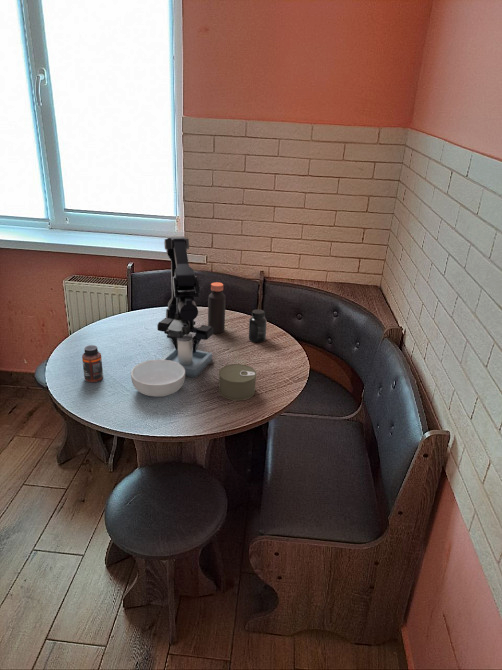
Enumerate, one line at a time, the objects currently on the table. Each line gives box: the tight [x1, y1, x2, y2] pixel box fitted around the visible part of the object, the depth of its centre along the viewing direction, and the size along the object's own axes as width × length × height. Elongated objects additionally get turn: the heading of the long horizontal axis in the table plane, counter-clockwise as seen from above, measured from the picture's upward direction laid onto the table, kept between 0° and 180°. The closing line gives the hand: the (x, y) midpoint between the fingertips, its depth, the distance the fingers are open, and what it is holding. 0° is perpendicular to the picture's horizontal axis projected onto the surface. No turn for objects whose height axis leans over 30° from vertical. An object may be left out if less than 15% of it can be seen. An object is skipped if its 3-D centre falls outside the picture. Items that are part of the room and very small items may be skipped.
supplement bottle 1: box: [81, 344, 104, 383], centre depth 161 cm, size 6×6×11 cm
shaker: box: [177, 332, 193, 365], centre depth 172 cm, size 5×5×10 cm
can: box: [218, 363, 257, 402], centre depth 159 cm, size 12×12×7 cm
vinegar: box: [207, 281, 226, 335], centre depth 199 cm, size 7×7×20 cm
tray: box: [161, 347, 213, 379], centre depth 174 cm, size 14×14×3 cm
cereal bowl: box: [130, 358, 186, 398], centre depth 157 cm, size 17×17×7 cm
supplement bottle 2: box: [248, 309, 268, 344], centre depth 195 cm, size 7×7×12 cm
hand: (185, 350), depth 173 cm, fingers open, 6 cm apart
